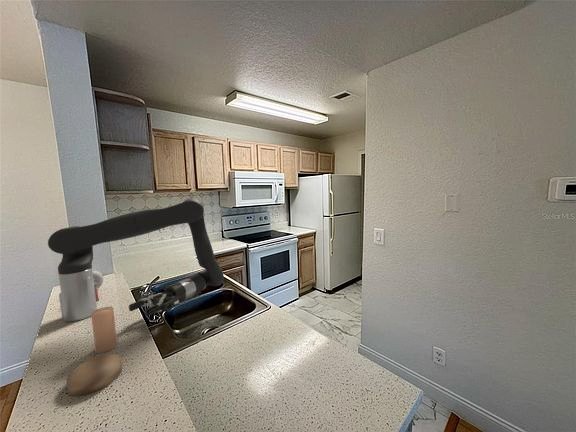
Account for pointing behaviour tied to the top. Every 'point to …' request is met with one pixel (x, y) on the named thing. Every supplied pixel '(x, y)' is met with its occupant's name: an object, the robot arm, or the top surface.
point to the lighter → (96, 290)
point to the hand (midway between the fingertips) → (137, 310)
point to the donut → (98, 278)
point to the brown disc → (94, 375)
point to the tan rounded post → (104, 329)
